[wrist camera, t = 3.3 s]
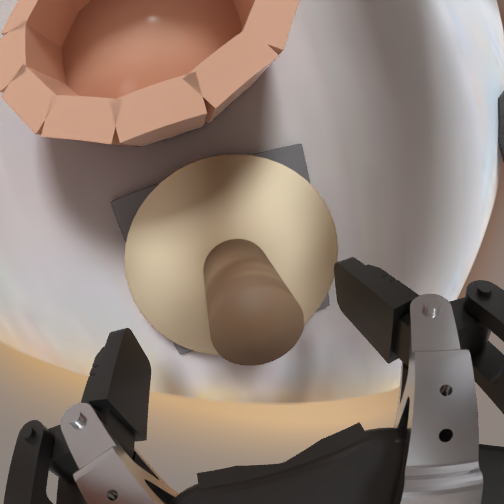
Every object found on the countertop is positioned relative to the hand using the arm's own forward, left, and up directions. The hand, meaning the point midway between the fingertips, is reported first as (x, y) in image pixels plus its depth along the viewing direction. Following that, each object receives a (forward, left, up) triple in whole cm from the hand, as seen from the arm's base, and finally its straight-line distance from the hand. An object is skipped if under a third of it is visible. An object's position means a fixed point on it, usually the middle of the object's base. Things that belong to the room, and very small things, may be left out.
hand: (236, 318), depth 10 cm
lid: (-1, 0, -5) cm, 5 cm away
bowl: (0, -13, -6) cm, 14 cm away
